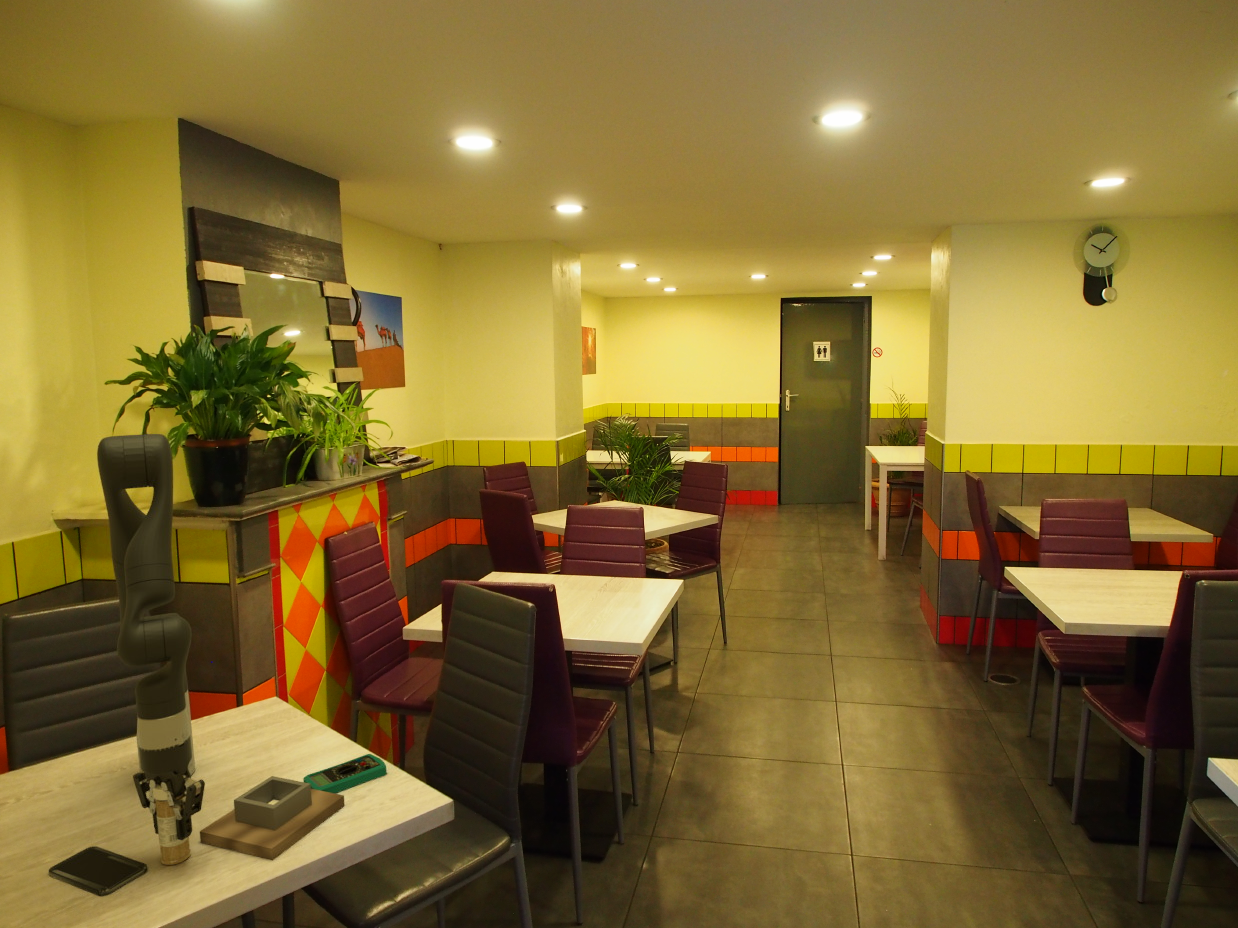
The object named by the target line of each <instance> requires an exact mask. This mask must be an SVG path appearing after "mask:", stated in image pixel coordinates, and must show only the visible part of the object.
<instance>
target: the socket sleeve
mask: <svg viewBox="0 0 1238 928" xmlns="http://www.w3.org/2000/svg"><path fill="white" fill-rule="evenodd" d="M272 800H279V801H278V802H277V803H275V804H274V805H272V804H268V803H269V802H271V801H272ZM310 805H312V798H311V784H309V783H304V781H298V780H294V779H290V778H289V779H288V778H284V777H279V776H274V775H271V776H270V777H268V778H266V779H265V780H263V781H261V782H260V783H258V784H257V785H256V786H254V787H252V788H251V789H249V790H247V791H246V792H244V793H243V794H241V795H239V796H238V797H236V798H235V799H233V810H234V809H235V821H236V822H241V823H245V824H249V825H254V826H258V827H262V828H267V829H271V830H277V829H278V828H280V827H281V826H282V825H284V824H285V823H287V822H288V821H289V820H291V819H292V818H294V817H295V816H296V815H298V814H299V813H301V812H302V811H303V810H305V809H306V808H308V807H309V806H310Z"/></svg>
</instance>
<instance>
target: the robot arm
mask: <svg viewBox="0 0 1238 928" xmlns="http://www.w3.org/2000/svg"><path fill="white" fill-rule="evenodd" d="M96 451H97V452H96V455H97V456H96V458H97V459H96V460H97V467H98V473H99V477H100V483H101V487H102V492H103V497H104V502H105V507H106V511H107V517H108V524H109V525H108V526H109V536H110V537H109V538H110V550H111V559H112V567H113V573H114V578H115V584H116V588H117V589H116V590H117V596H118V602H119V603H118V605H119V622H120V631H119V635H118V639H117V644H116V645H117V646H116V652H117V656H118V658H119V660H120V661H121V662H122V663H123V664H124V665H125V666H128V667H132V668H133V667H141V666H147V665H152V664H153V665H154V664H158V663H165V662H166V664H165V665H163V666H162V667H161V668H160V669H158V670H157V671H155V672H154V673H152V674H149V675H146V676H145V677H143V678H141V679H139V680H138V682H137V683H136V684H135V688H134V693H135V705H136V706H135V707H136V713H137V716H136V717H137V721H136V722H137V723H136V736H135V737H136V745H137V754H138V755H137V756H138V758H137V759H138V765H139V772H137V773H135V774H133V775H132V780H133V782H134V785H135V789H136V792H137V795H138V799H139V801H140V806H141V807H142V808H143V809H148V810H149V813H150V814H152V822H153V828H154V833H155V834H156V835H159V834H158V824H157V811H156V810H157V809H156V801H155V798H154V794H153V789H154V788H156V787H157V786H159V785H160V786H161V787H162V790H163V791H164V792H166V793H167V801H168V804H169V806H170V807H171V808H173V810H174V813H175V816H176V818H177V819H176V829H177V839H179V840H184V839H185V838H187V837H188V836H189V837H190V836H191V835H192V833H193V824H192V816H194V815H195V814H197V813H199V812H201V811H202V804H203V799H204V792H205V787H206V783H205V780H203V779H198V781H197V780H195V779H193V778H192V775H193V774H194V773H195V770H196V762H195V750H194V740H193V739H194V738H193V727H192V719H191V718H192V717H191V706H190V695H189V685H188V677H187V668H186V665H187V661H188V657H189V653H190V648H191V645H192V638H193V632H192V627H191V625H190V623H189V621H187V620H186V619H185V618H184V617H182V616H181V615H179V613H177V612H172V613H171V612H170V613H162V614H156V615H151V616H150V615H149V616H144V615H145V614H146V613H147V612H148V611H151V610H153V609H155V608H158V607H161V606H164V605H166V604H169V603H171V602H172V601H174V599H175V596H176V586H175V575H174V564H173V553H172V552H173V551H172V549H173V548H172V539H173V538H172V533H173V532H172V531H173V515H174V513H173V512H174V461H173V460H174V459H173V452H172V448H171V445H170V442H169V439H168V438H167V437H166V435H164V434H161V433H148V434H147V433H146V434H126V435H113V436H107V437H103V438H102V439H101V440H100V441H99V443H98V446H97V450H96ZM140 488H153V494H152V499H151V503H150V507H149V509H148V511H147V513H146V514H145V512H143V511H142V510H141V509H140V508H139V507H138V506H137V505H136V503H134V501H133V500H132V499H131V497H130V495H129V494H128V492H127V490H128V489H140ZM147 792H149V794H148V797H147ZM183 793H184V795H183V796H182V797H181V798H180V799H178V800H176V799H175V798H176V797H178V796H180V795H181V794H183ZM182 803H184V809H183V810H182V809H181V806H180V805H181V804H182Z"/></svg>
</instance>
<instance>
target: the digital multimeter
mask: <svg viewBox="0 0 1238 928" xmlns="http://www.w3.org/2000/svg"><path fill="white" fill-rule="evenodd" d="M384 776H387V765H386V763H385V762H384V761H383V760H382V759H381V758H380V757H378V756H376V755H373V754H372V753H367V754H363V755H362V756H359V757H356V758H353V759H351V760H348V761H344V762H342V763H340V764H336V765H334V766H331V767H327V768H325V769H322V770H319V771H316V772H312V773H310V774H307V775H305V776H304V777H303V778H302V779H303V782H304V783H309V784H311V789H315V790H320V791H325V792H330V793H334V794H339V793H340V792H343V791H346V790H349V789H351V788H353V787H356V786H359V785H361V784H364V783H368V782H370V781H372V780H373V781H374V780H376V779H379V778H382V777H384Z"/></svg>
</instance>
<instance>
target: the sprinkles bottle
mask: <svg viewBox="0 0 1238 928" xmlns="http://www.w3.org/2000/svg"><path fill="white" fill-rule="evenodd" d="M153 794H154V798H155V801H156V809H157V810H156V811H157V824H158V834H157V835H158V842H159V847H160V862H161V864H163V865H166V866H173V865H177V864H180V863H182V862H185V860H187V859H188V858H190V856H191V854H192V850H191V848H190V847H191V846H190V836H188V837H187V838H185V839H184V840H179V839H177V829H176V819H177V818H176V816H175V813H174V810H173V808H171V807H170V806H169V804H168V801H167V793H166V792H164V791H163V790H162V787H161V786H160V785H159V786H157V787H156V788H154V789H153ZM183 795H184V793H183V794H181V795H180V796H178V797H176V798H175V799H176V800H178V799H180V798H181V797H182V796H183ZM180 806H181V809H182V810H183V809H184V803H182V804H181V805H180Z"/></svg>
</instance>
